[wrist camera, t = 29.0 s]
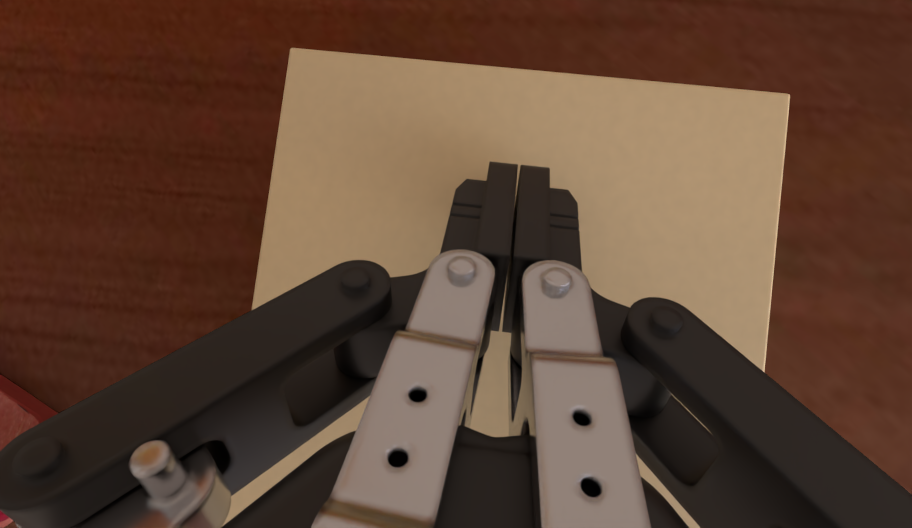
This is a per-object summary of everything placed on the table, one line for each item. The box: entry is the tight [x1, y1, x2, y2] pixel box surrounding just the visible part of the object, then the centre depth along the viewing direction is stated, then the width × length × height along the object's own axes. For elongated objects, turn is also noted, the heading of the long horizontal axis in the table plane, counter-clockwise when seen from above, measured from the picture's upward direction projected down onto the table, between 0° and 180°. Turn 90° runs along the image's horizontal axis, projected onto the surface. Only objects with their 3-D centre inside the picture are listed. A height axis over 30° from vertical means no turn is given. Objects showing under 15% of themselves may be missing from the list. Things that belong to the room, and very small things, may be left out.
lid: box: [222, 48, 790, 528], centre depth 14 cm, size 17×14×1 cm
